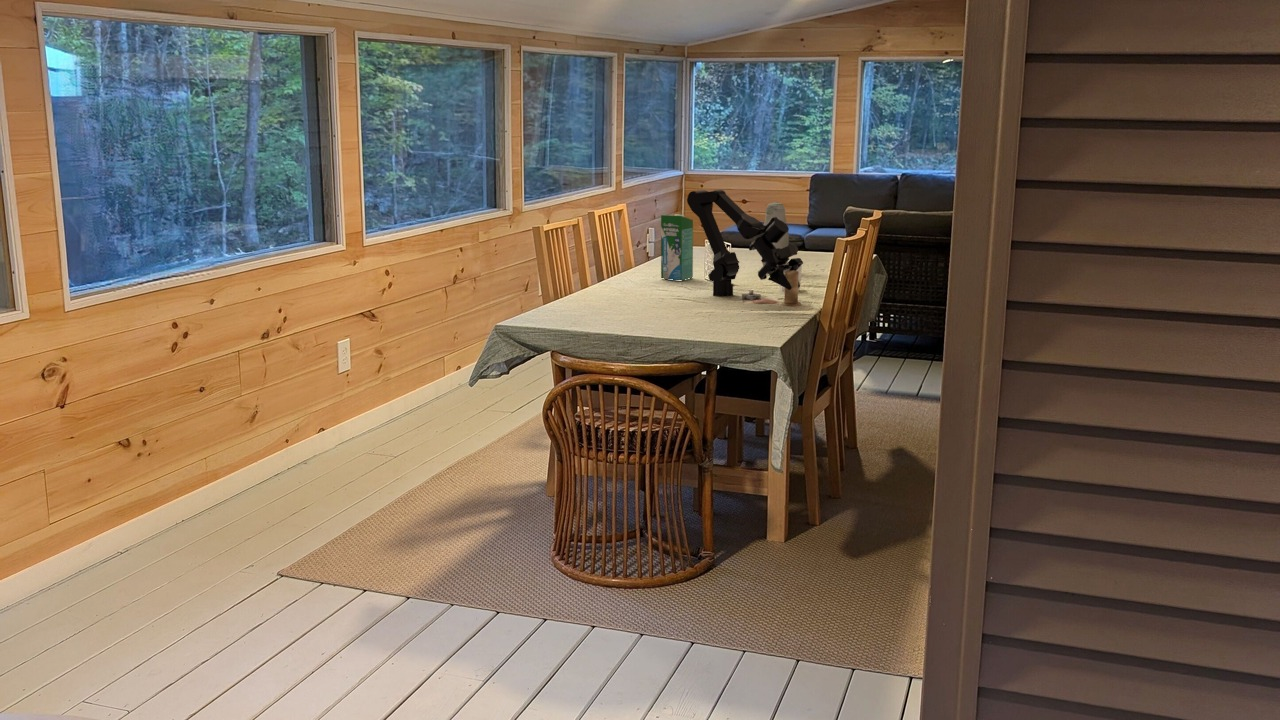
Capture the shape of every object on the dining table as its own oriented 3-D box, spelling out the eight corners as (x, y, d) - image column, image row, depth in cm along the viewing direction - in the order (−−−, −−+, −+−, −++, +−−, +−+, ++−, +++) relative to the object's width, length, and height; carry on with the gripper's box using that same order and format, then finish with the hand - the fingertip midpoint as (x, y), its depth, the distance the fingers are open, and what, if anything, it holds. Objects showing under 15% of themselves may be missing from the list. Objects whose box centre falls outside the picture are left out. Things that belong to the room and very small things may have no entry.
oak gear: (781, 309, 370) (782, 272, 368) (780, 305, 377) (781, 270, 374) (801, 309, 370) (802, 273, 367) (800, 305, 376) (801, 270, 373)
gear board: (742, 306, 375) (742, 303, 375) (742, 299, 389) (742, 296, 388) (778, 307, 374) (778, 303, 374) (777, 299, 388) (777, 296, 387)
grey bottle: (769, 270, 456) (770, 200, 450) (791, 272, 450) (793, 201, 444) (757, 273, 448) (758, 202, 442) (779, 275, 442) (781, 203, 436)
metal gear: (741, 300, 381) (741, 291, 380) (741, 297, 387) (741, 288, 387) (761, 300, 380) (761, 292, 379) (760, 297, 387) (760, 288, 386)
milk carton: (692, 278, 436) (693, 213, 431) (681, 281, 429) (681, 215, 423) (672, 276, 441) (672, 212, 435) (660, 279, 434) (660, 214, 428)
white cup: (800, 294, 398) (801, 266, 395) (777, 294, 399) (778, 266, 397) (801, 291, 405) (802, 263, 403) (779, 290, 407) (780, 263, 405)
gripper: (765, 238, 364) (793, 275, 359) (799, 233, 377) (826, 269, 372) (746, 260, 371) (772, 297, 366) (779, 255, 384) (805, 290, 379)
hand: (794, 288), depth 371 cm, fingers closed on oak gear, 4 cm apart
